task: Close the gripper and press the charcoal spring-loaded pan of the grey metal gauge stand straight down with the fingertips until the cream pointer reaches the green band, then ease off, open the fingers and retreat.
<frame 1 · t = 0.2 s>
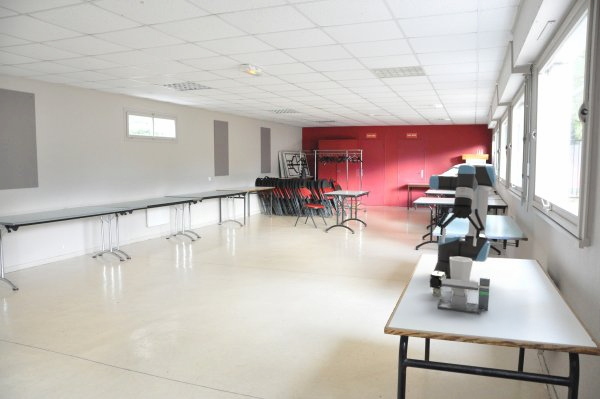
hand: (458, 244, 190), 28 cm above the table, tool tilted 20°, fingers open, 13 cm apart
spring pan: (464, 290, 188), point 8 cm above the table, slide at 0.0 cm
pneumatic valve: (437, 295, 206), on the table
cup: (459, 293, 211), on the table
gauge stand: (458, 307, 190), on the table
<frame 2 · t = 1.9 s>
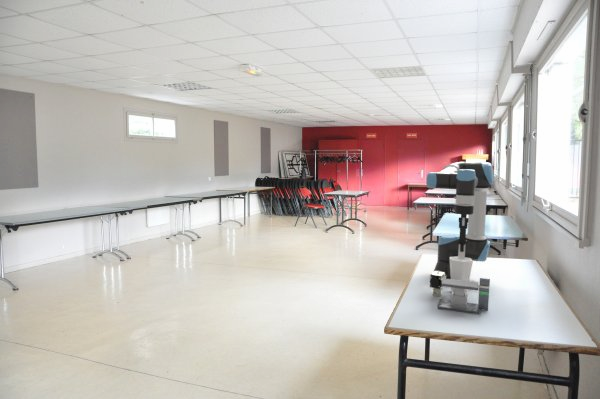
hand: (461, 257, 187), 23 cm above the table, tool pointing down, fingers open, 4 cm apart
nothing on the table moved.
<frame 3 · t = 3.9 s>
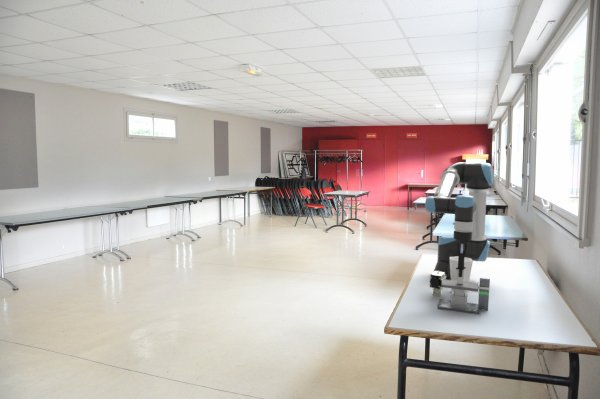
hand: (459, 283, 188), 11 cm above the table, tool pointing down, fingers closed
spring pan: (464, 291, 188), point 8 cm above the table, slide at -0.5 cm, touching gripper
everything else where it was.
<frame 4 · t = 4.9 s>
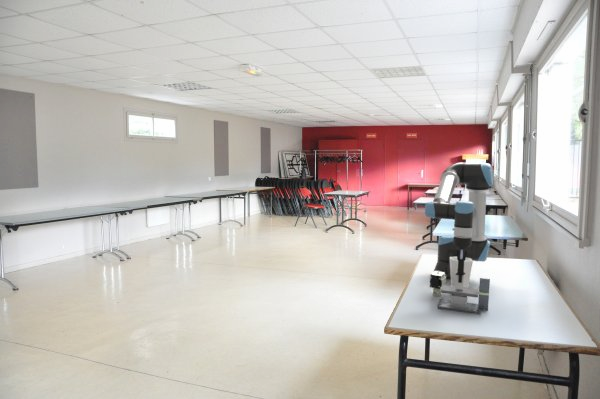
hand: (459, 289, 189), 8 cm above the table, tool pointing down, fingers closed
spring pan: (464, 297, 188), point 5 cm above the table, slide at -3.0 cm, touching gripper
everything else where it was.
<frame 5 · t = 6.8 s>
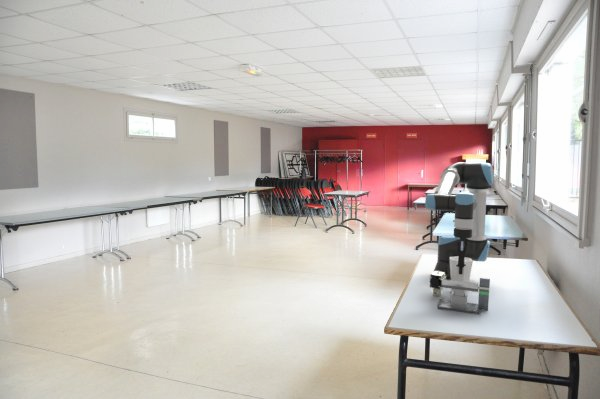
hand: (460, 280, 188), 12 cm above the table, tool pointing down, fingers closed
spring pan: (464, 291, 188), point 8 cm above the table, slide at -0.5 cm
everything else where it was.
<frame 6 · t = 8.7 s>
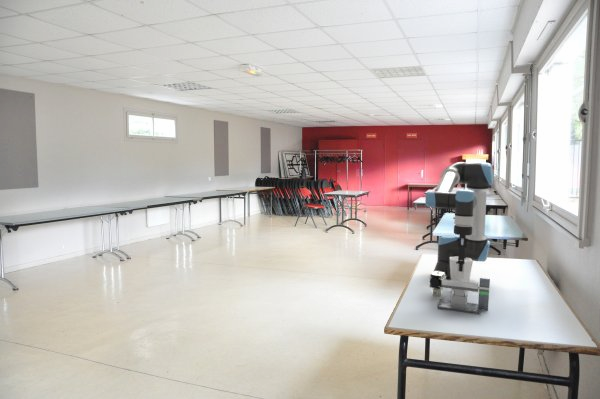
hand: (460, 275, 188), 15 cm above the table, tool pointing down, fingers open, 9 cm apart
nothing on the table moved.
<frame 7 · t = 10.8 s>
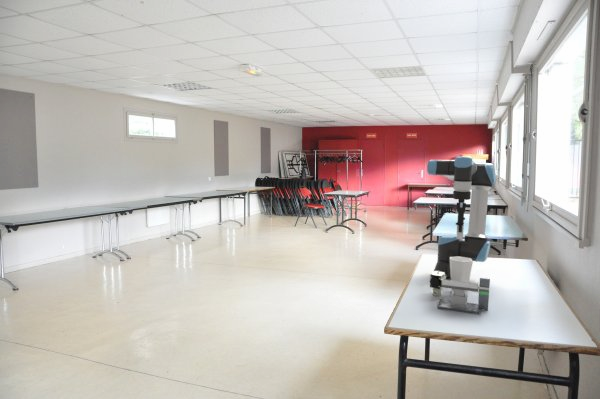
hand: (459, 236, 197), 30 cm above the table, tool pointing down, fingers open, 13 cm apart
nothing on the table moved.
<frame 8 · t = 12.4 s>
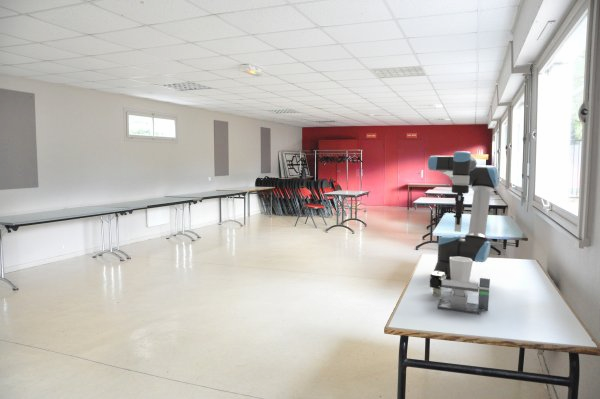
hand: (457, 229, 202), 33 cm above the table, tool pointing down, fingers open, 13 cm apart
nothing on the table moved.
at the end: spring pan slide at -0.5 cm; pneumatic valve moved 0.2 cm from its start; cup moved 0.2 cm from its start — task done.
